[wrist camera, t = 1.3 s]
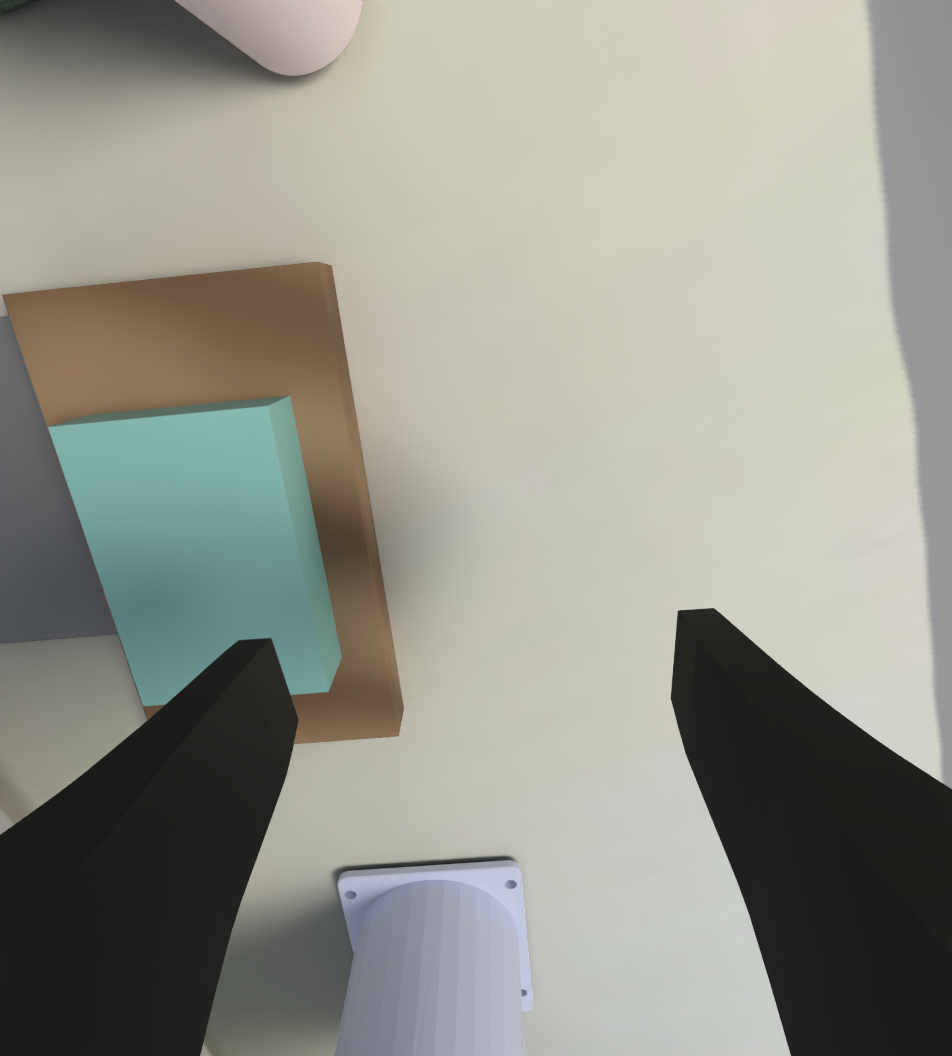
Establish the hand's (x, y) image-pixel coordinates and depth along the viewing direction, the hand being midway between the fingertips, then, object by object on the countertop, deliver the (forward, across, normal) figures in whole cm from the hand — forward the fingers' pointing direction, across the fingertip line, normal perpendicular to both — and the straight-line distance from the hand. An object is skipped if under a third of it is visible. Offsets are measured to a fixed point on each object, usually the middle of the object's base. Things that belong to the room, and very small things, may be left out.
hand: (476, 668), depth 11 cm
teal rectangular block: (+8, +8, +2) cm, 12 cm away
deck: (+10, +8, +2) cm, 13 cm away
